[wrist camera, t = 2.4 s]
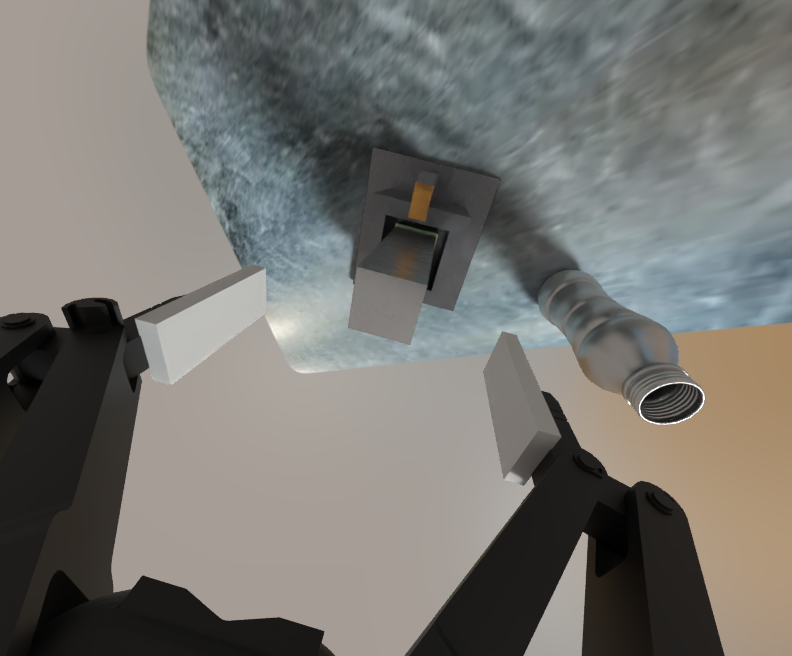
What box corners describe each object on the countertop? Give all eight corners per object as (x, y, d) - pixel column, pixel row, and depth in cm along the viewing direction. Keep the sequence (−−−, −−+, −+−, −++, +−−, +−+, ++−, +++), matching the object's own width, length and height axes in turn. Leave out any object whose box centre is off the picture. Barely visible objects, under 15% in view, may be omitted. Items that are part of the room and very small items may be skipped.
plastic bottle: (528, 313, 37) (597, 435, 20) (539, 263, 34) (634, 356, 17) (581, 316, 36) (702, 446, 19) (598, 264, 33) (762, 365, 16)
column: (404, 215, 33) (354, 263, 15) (439, 224, 33) (431, 283, 15) (395, 254, 35) (344, 333, 18) (429, 263, 35) (410, 352, 18)
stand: (375, 147, 31) (338, 135, 21) (499, 179, 31) (525, 182, 20) (355, 281, 39) (321, 321, 29) (452, 307, 39) (454, 357, 28)
